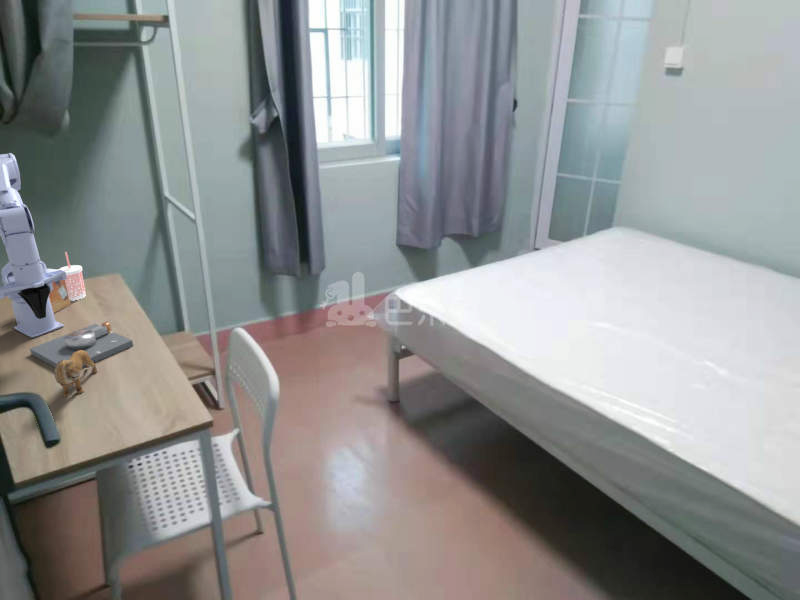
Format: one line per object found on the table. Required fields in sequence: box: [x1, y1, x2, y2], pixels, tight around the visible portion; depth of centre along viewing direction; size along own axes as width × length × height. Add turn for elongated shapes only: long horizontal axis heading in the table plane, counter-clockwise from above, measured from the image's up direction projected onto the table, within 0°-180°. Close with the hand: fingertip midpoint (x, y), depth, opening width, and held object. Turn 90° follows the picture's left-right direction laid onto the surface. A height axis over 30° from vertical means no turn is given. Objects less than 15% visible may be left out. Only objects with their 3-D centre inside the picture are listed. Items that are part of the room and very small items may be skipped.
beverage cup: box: [59, 251, 87, 302], centre depth 162 cm, size 6×6×14 cm
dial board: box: [29, 323, 134, 369], centre depth 136 cm, size 16×16×2 cm
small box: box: [47, 268, 71, 314], centre depth 156 cm, size 8×6×10 cm
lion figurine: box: [53, 350, 98, 397], centre depth 120 cm, size 15×5×9 cm, turn 15°
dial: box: [64, 321, 112, 350], centre depth 137 cm, size 11×6×2 cm, turn 152°
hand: (40, 317), depth 131 cm, fingers closed
